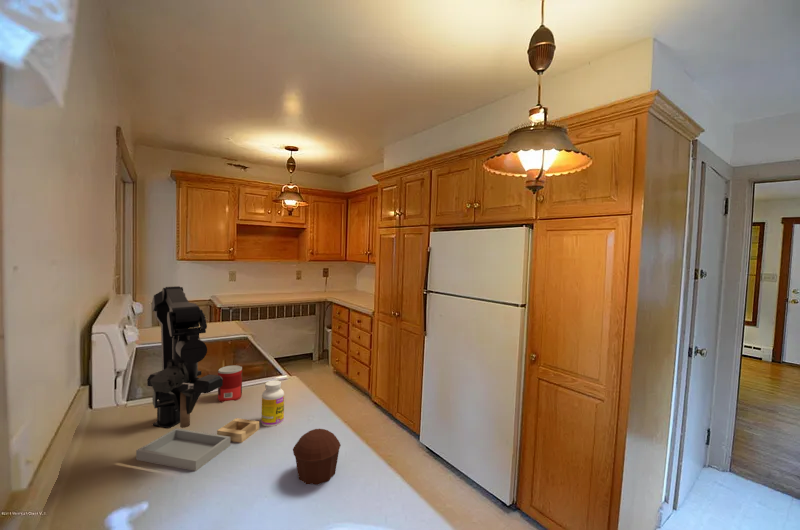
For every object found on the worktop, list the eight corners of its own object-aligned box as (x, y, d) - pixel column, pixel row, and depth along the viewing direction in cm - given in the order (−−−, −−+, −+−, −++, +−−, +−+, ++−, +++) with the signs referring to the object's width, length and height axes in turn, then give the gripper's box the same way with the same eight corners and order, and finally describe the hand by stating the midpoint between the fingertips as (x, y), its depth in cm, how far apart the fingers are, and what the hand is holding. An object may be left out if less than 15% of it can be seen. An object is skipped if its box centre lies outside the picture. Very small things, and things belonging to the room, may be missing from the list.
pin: (178, 427, 94) (178, 393, 93) (185, 423, 96) (185, 390, 95) (185, 428, 93) (185, 394, 93) (191, 424, 95) (191, 390, 95)
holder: (217, 440, 102) (217, 430, 102) (236, 427, 109) (236, 418, 109) (241, 444, 100) (241, 434, 100) (259, 431, 108) (259, 421, 107)
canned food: (246, 397, 133) (246, 367, 132) (225, 404, 126) (226, 373, 126) (234, 392, 137) (234, 363, 136) (213, 399, 130) (213, 369, 130)
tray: (136, 462, 91) (136, 450, 91) (176, 438, 102) (176, 428, 102) (196, 473, 87) (196, 461, 87) (230, 447, 98) (230, 436, 98)
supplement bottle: (276, 429, 109) (277, 387, 108) (257, 427, 110) (257, 385, 110) (287, 419, 115) (288, 380, 115) (269, 417, 117) (269, 378, 116)
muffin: (301, 459, 94) (302, 421, 93) (343, 460, 93) (344, 422, 93) (285, 488, 82) (286, 445, 81) (334, 490, 81) (334, 447, 81)
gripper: (126, 359, 88) (127, 422, 89) (190, 366, 84) (190, 432, 84) (166, 348, 99) (166, 404, 99) (224, 354, 95) (224, 412, 95)
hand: (185, 412), depth 94 cm, fingers closed on pin, 2 cm apart
